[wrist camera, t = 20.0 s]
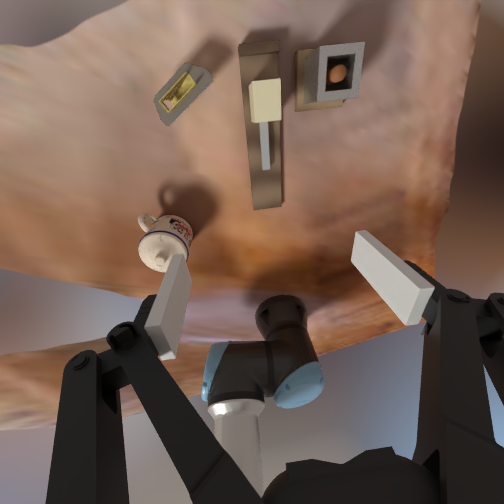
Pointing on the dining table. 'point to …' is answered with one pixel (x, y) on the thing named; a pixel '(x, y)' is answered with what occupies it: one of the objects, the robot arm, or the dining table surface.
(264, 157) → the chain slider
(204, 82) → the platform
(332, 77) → the square plate with peg
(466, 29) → the dining table surface
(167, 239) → the teacup with lid
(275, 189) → the rail
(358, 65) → the grey hollow square block
